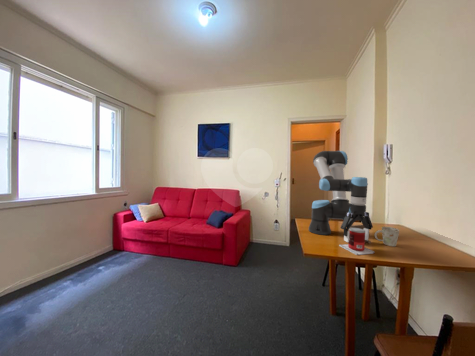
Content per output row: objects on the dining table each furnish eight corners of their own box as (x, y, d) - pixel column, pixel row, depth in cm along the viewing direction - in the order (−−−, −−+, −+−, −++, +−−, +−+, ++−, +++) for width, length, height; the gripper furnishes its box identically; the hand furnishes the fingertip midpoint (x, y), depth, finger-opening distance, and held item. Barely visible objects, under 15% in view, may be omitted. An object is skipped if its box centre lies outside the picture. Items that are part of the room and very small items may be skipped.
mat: (339, 245, 107) (339, 244, 107) (355, 244, 110) (355, 243, 110) (356, 255, 96) (356, 253, 96) (374, 253, 98) (374, 251, 98)
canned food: (366, 249, 102) (367, 230, 101) (360, 252, 97) (361, 232, 97) (352, 244, 108) (353, 226, 108) (345, 247, 104) (346, 228, 103)
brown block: (346, 241, 114) (346, 224, 114) (363, 240, 118) (364, 223, 117) (352, 244, 110) (353, 227, 109) (370, 243, 113) (371, 225, 113)
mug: (402, 247, 107) (402, 231, 106) (378, 245, 109) (378, 229, 109) (392, 242, 115) (393, 227, 114) (370, 240, 117) (371, 225, 117)
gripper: (345, 206, 95) (343, 244, 97) (381, 204, 101) (379, 241, 102) (334, 203, 103) (332, 239, 104) (369, 202, 109) (367, 236, 110)
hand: (356, 240), depth 103 cm, fingers open, 13 cm apart
